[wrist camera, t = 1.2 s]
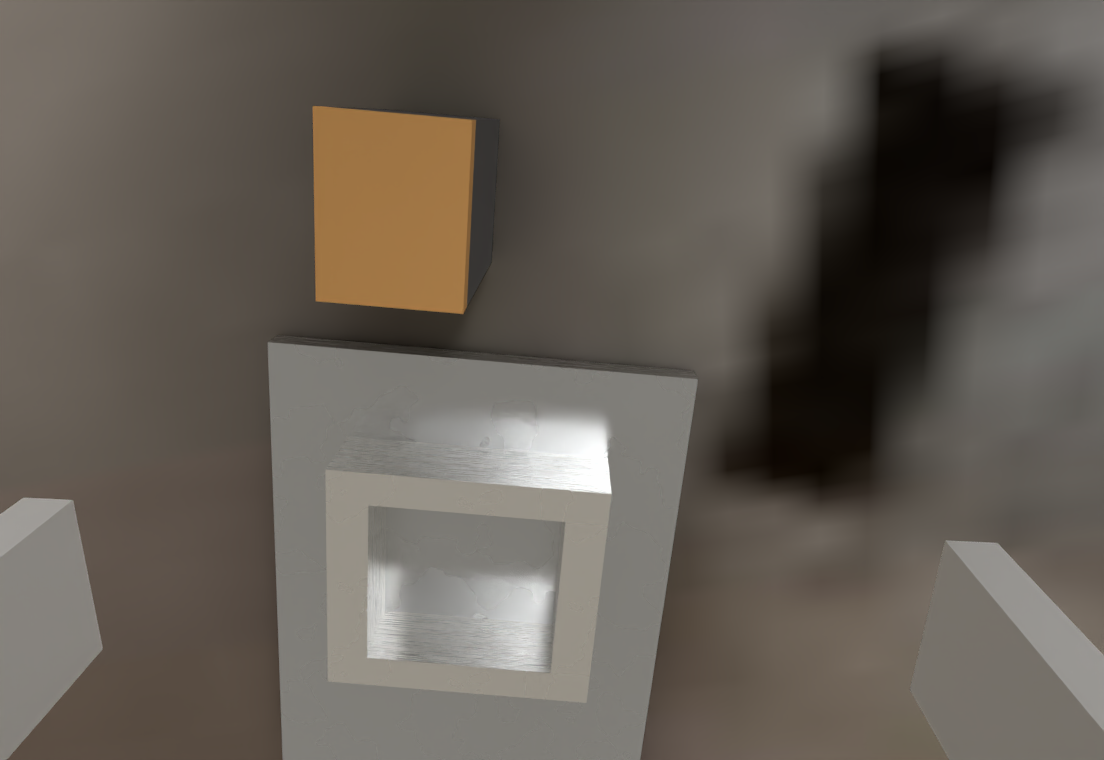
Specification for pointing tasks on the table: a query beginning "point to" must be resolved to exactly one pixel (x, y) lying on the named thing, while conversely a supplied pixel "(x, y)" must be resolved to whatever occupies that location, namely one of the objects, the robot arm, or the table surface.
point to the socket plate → (470, 549)
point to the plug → (402, 207)
